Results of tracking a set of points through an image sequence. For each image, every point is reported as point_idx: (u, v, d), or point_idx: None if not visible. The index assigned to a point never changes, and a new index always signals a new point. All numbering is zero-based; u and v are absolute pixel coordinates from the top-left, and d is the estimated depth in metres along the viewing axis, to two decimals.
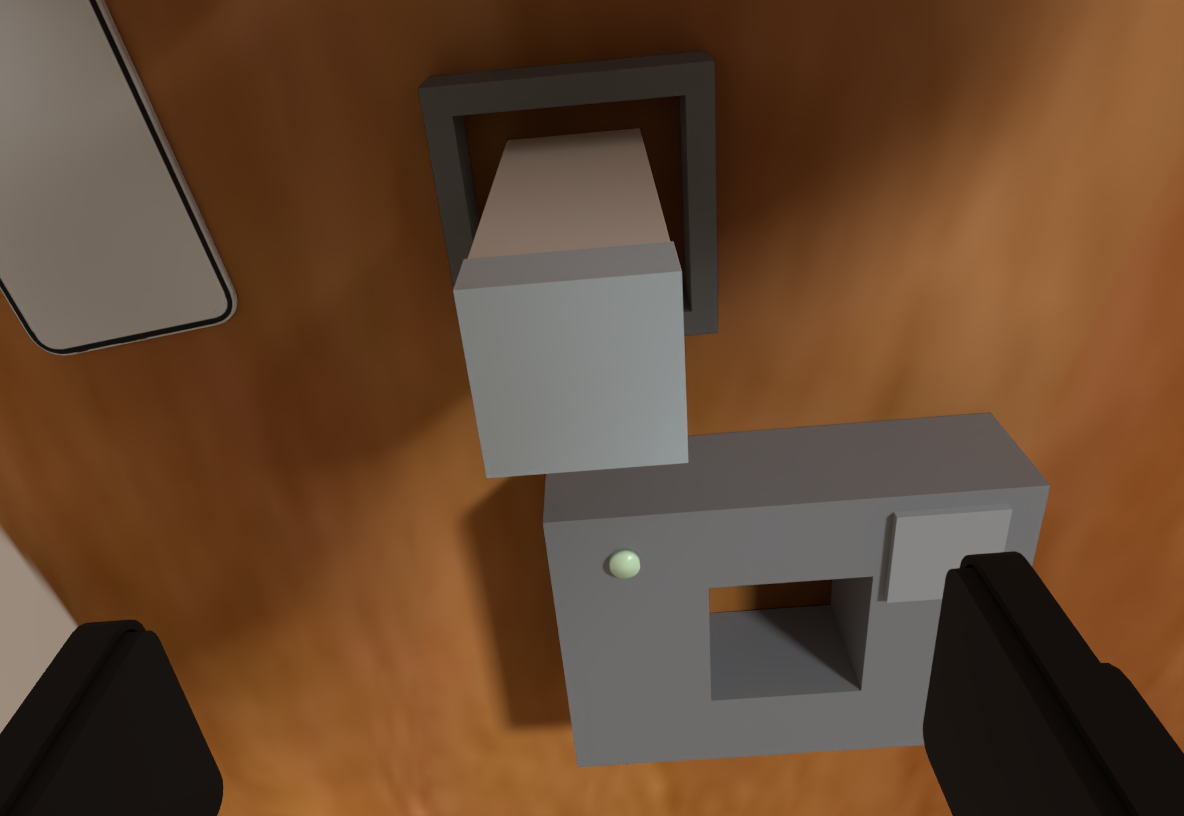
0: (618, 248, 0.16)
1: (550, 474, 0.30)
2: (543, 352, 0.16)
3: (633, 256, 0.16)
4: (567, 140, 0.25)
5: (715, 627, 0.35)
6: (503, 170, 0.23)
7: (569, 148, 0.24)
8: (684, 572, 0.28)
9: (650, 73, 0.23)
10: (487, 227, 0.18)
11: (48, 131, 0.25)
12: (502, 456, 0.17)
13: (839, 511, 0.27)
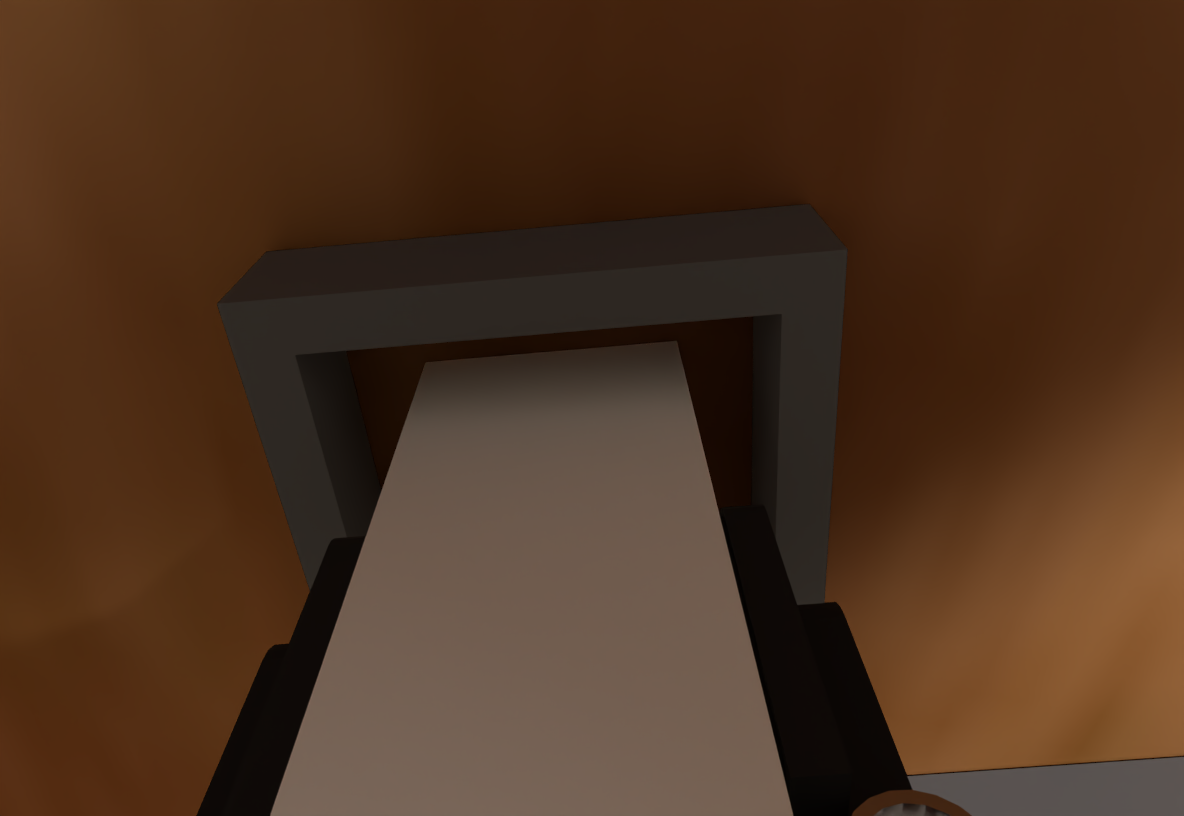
0: None
1: None
2: None
3: None
4: (538, 375, 0.13)
5: None
6: (394, 492, 0.10)
7: (541, 406, 0.12)
8: None
9: (710, 273, 0.11)
10: None
11: None
12: None
13: None
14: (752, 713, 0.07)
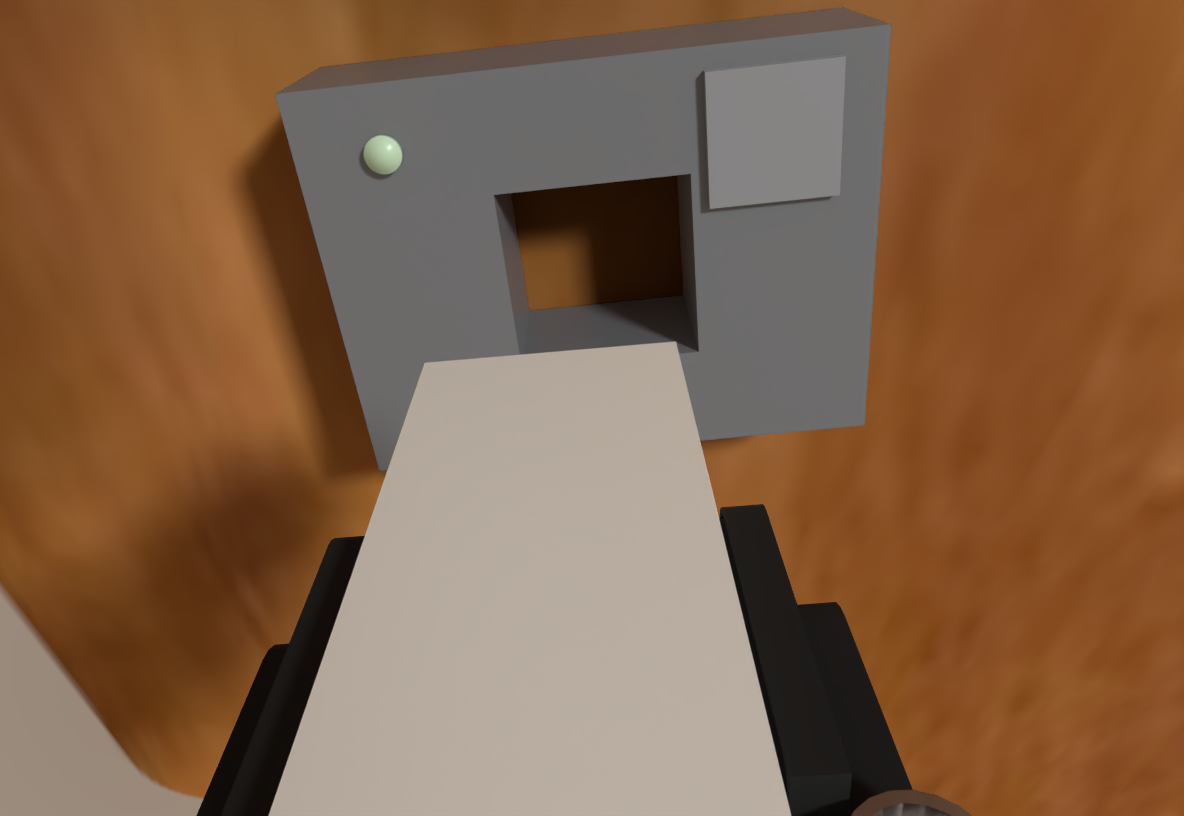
0: None
1: (309, 76, 0.25)
2: None
3: None
4: (537, 376, 0.13)
5: (546, 318, 0.30)
6: (393, 493, 0.10)
7: (540, 407, 0.12)
8: (460, 171, 0.23)
9: None
10: None
11: None
12: None
13: (635, 70, 0.22)
14: (750, 715, 0.07)
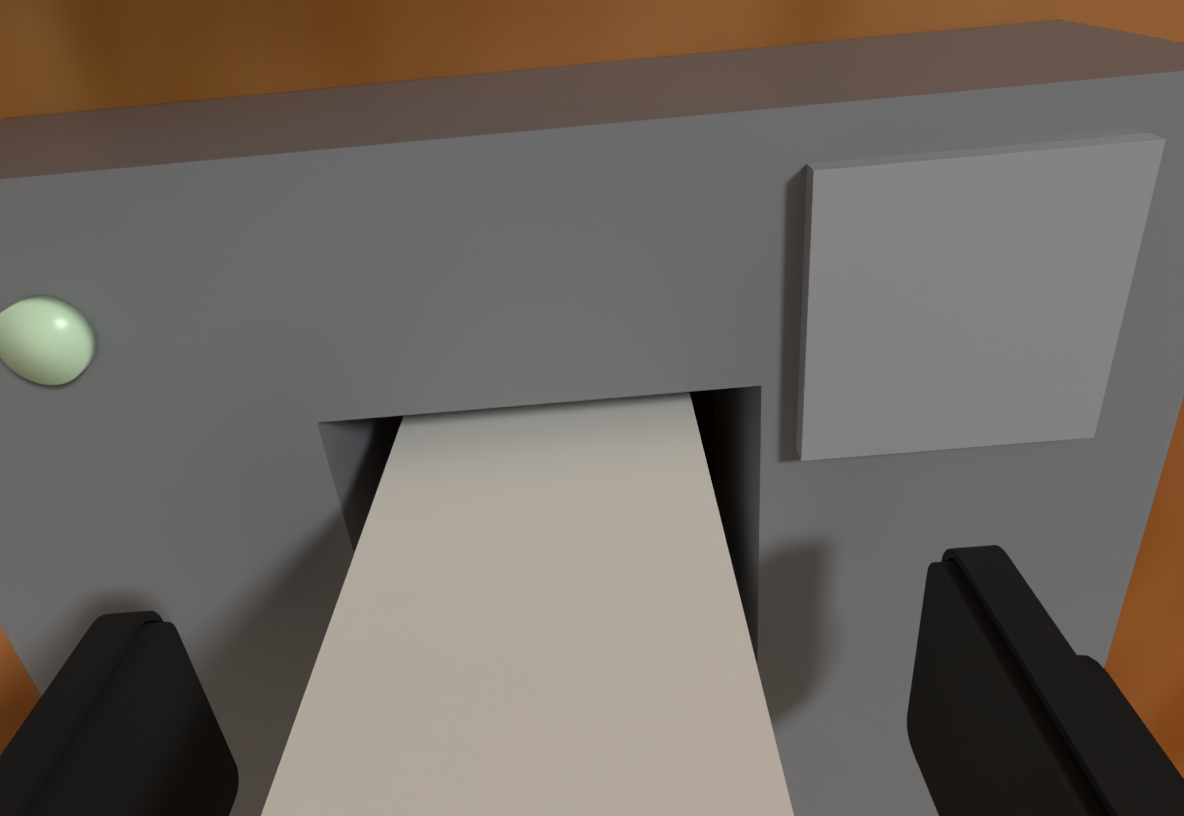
0: None
1: None
2: None
3: None
4: None
5: None
6: (412, 426, 0.12)
7: None
8: (237, 374, 0.10)
9: None
10: (325, 698, 0.08)
11: None
12: None
13: (641, 161, 0.09)
14: (722, 578, 0.08)
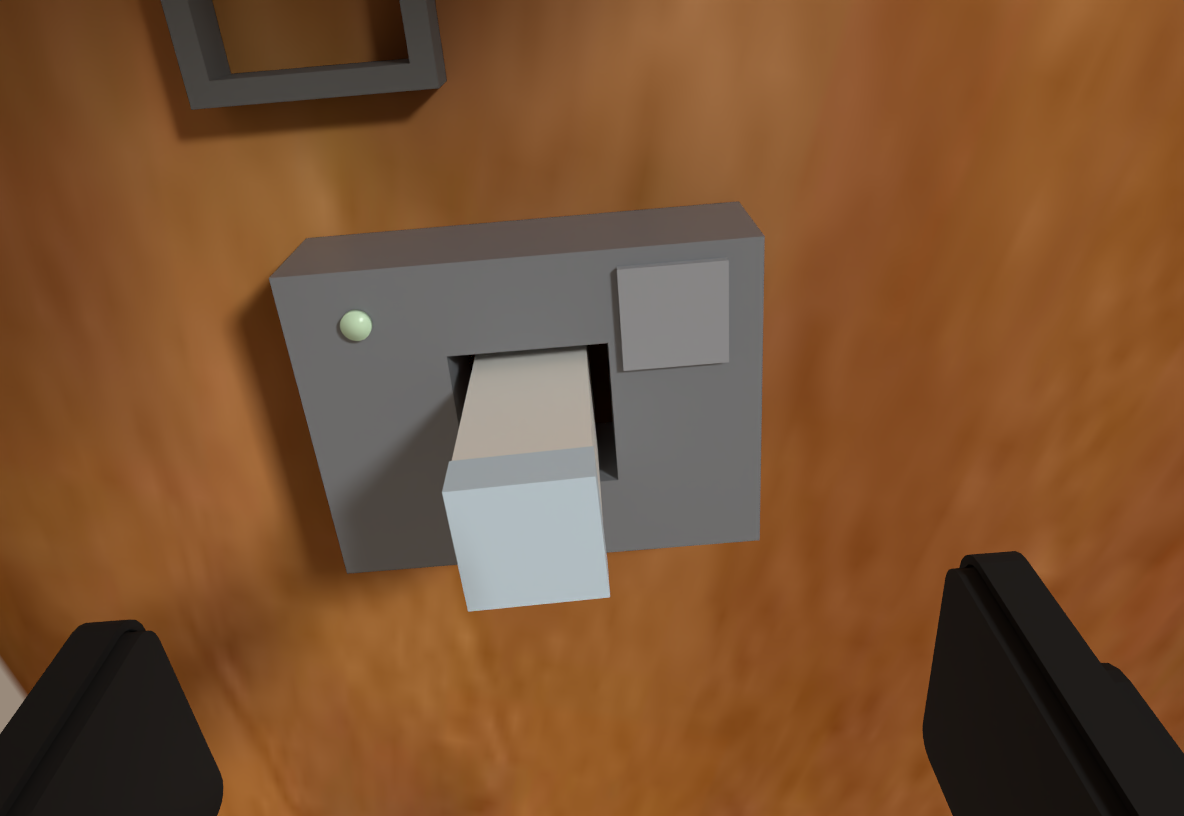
0: (556, 452, 0.24)
1: (296, 252, 0.30)
2: (504, 529, 0.23)
3: (565, 461, 0.23)
4: None
5: None
6: (478, 362, 0.30)
7: None
8: (419, 338, 0.29)
9: None
10: (465, 426, 0.26)
11: None
12: (479, 596, 0.24)
13: (561, 266, 0.28)
14: (585, 398, 0.27)
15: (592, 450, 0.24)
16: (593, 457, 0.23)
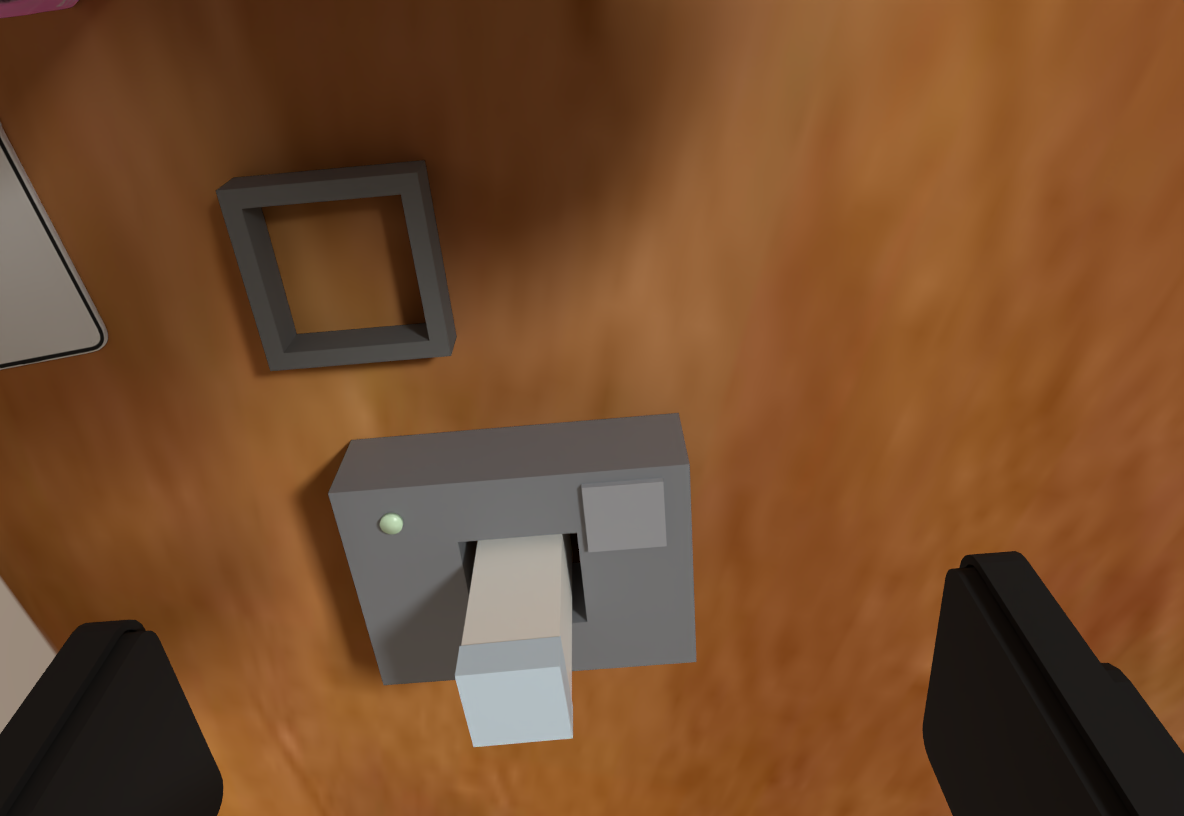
0: (534, 641, 0.34)
1: (345, 459, 0.40)
2: (498, 697, 0.34)
3: (540, 650, 0.34)
4: None
5: None
6: (481, 540, 0.40)
7: None
8: (438, 530, 0.39)
9: (374, 180, 0.33)
10: (471, 610, 0.36)
11: None
12: (481, 737, 0.35)
13: (541, 484, 0.38)
14: (557, 585, 0.37)
15: (559, 640, 0.34)
16: (559, 647, 0.34)
